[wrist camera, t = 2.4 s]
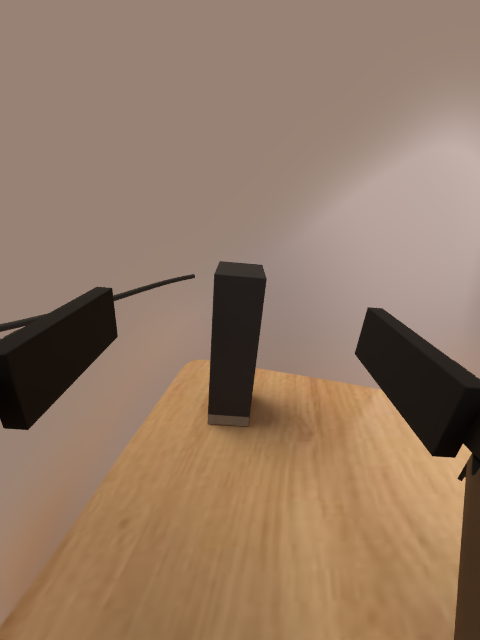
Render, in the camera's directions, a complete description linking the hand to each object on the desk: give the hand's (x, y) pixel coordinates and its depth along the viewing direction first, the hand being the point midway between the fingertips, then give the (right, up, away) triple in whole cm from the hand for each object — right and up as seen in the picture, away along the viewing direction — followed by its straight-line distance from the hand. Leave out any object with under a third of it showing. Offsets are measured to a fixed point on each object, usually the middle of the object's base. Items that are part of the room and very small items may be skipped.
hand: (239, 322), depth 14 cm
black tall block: (-1, -9, +15) cm, 17 cm away
